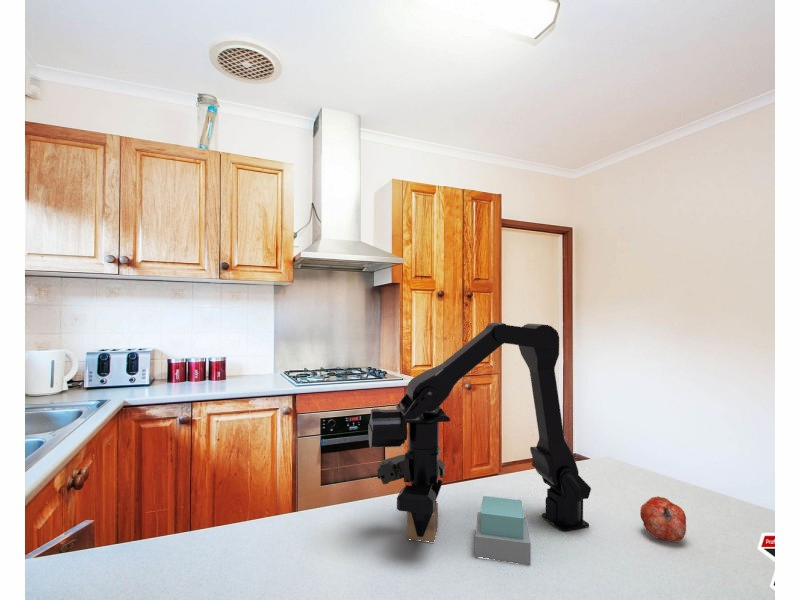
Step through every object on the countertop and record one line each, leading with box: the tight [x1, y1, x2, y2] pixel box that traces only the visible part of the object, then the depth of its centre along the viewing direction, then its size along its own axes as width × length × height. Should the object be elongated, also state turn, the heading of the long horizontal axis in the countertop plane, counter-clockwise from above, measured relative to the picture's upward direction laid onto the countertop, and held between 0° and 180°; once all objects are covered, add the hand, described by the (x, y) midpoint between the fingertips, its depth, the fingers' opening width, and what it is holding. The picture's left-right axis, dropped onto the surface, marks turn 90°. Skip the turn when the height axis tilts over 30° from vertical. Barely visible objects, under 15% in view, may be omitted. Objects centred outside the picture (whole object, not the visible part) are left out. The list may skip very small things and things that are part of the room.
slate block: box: [474, 511, 532, 566], centre depth 75 cm, size 9×9×4 cm
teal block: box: [480, 495, 525, 539], centre depth 75 cm, size 7×7×4 cm
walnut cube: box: [406, 502, 439, 543], centre depth 79 cm, size 5×5×5 cm
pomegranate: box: [639, 495, 687, 543], centre depth 79 cm, size 7×7×10 cm
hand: (422, 528), depth 79 cm, fingers closed on walnut cube, 5 cm apart
